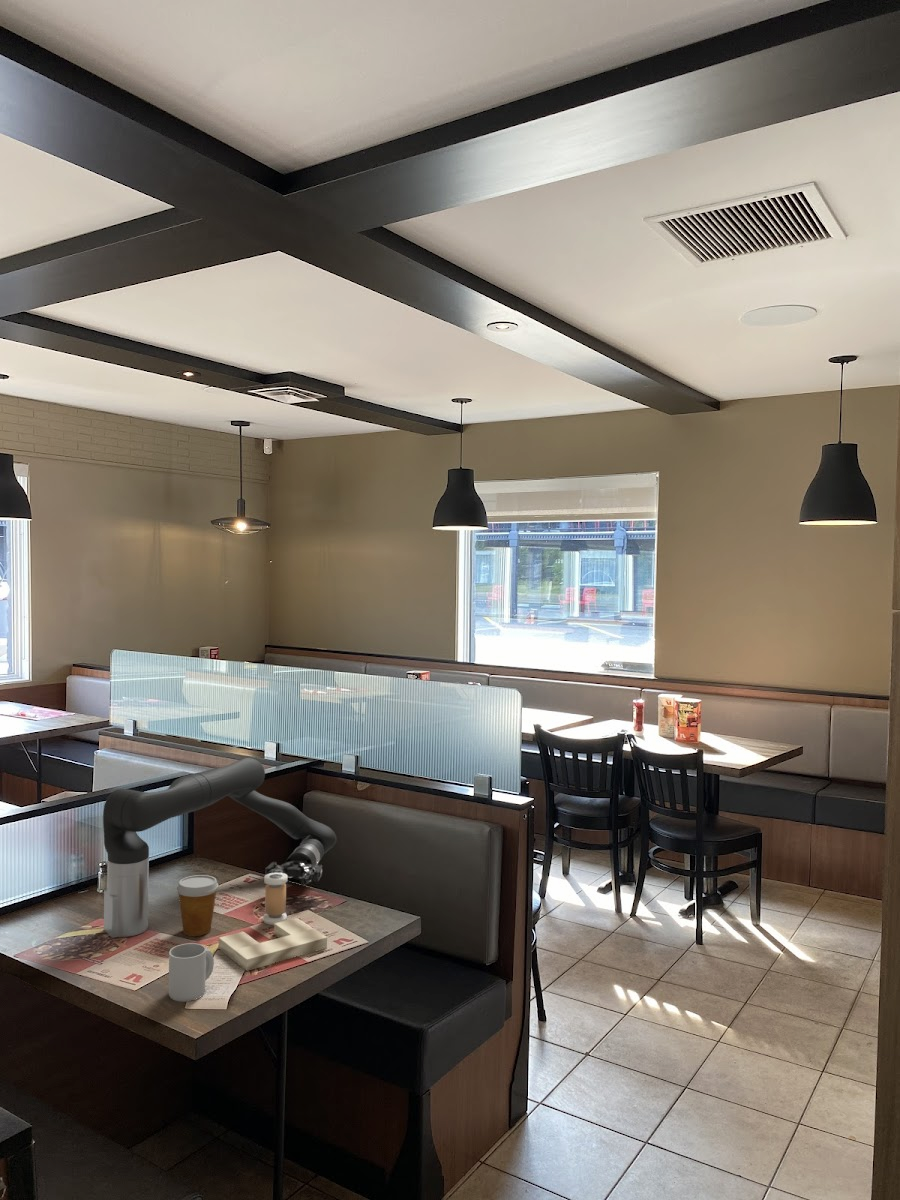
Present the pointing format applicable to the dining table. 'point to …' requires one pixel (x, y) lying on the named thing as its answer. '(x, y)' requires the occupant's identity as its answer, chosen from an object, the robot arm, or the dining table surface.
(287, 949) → the notched board
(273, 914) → the bobbin
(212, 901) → the disposable coffee cup
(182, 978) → the cup
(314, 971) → the dining table surface
